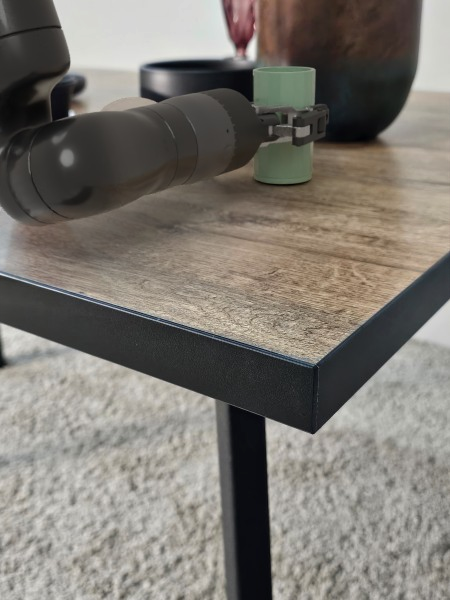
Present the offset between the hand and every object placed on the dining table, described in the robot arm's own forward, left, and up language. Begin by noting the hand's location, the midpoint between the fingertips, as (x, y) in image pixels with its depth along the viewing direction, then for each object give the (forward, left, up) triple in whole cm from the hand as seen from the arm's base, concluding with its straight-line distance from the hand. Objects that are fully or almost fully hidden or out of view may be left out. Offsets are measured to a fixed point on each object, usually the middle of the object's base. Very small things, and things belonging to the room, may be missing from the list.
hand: (294, 112), depth 78 cm
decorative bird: (-19, +2, -7) cm, 20 cm away
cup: (-1, -2, -6) cm, 7 cm away
